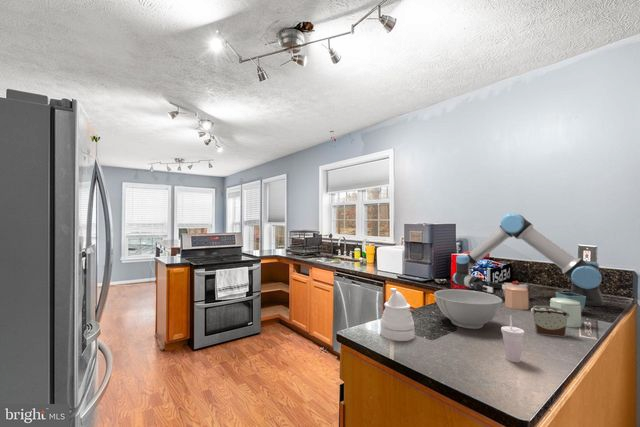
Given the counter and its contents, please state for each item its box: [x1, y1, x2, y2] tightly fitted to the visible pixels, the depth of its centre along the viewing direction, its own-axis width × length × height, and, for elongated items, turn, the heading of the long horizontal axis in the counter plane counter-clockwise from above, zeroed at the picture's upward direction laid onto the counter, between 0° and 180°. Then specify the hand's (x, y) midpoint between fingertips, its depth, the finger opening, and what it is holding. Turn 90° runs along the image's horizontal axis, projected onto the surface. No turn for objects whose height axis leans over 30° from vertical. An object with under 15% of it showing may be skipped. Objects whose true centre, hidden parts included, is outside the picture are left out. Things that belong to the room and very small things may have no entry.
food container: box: [531, 305, 569, 338], centre depth 121 cm, size 12×6×10 cm, turn 71°
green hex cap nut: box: [549, 297, 582, 328], centre depth 133 cm, size 10×10×10 cm
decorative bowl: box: [433, 288, 503, 330], centre depth 132 cm, size 27×27×12 cm
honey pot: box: [380, 287, 415, 342], centre depth 119 cm, size 13×13×18 cm
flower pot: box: [555, 291, 586, 313], centre depth 150 cm, size 9×9×9 cm
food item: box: [502, 280, 531, 301], centre depth 179 cm, size 14×8×10 cm, turn 49°
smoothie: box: [500, 315, 525, 363], centre depth 97 cm, size 6×6×14 cm
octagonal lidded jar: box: [504, 286, 529, 311], centre depth 159 cm, size 10×10×10 cm
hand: (502, 289), depth 167 cm, fingers open, 13 cm apart
